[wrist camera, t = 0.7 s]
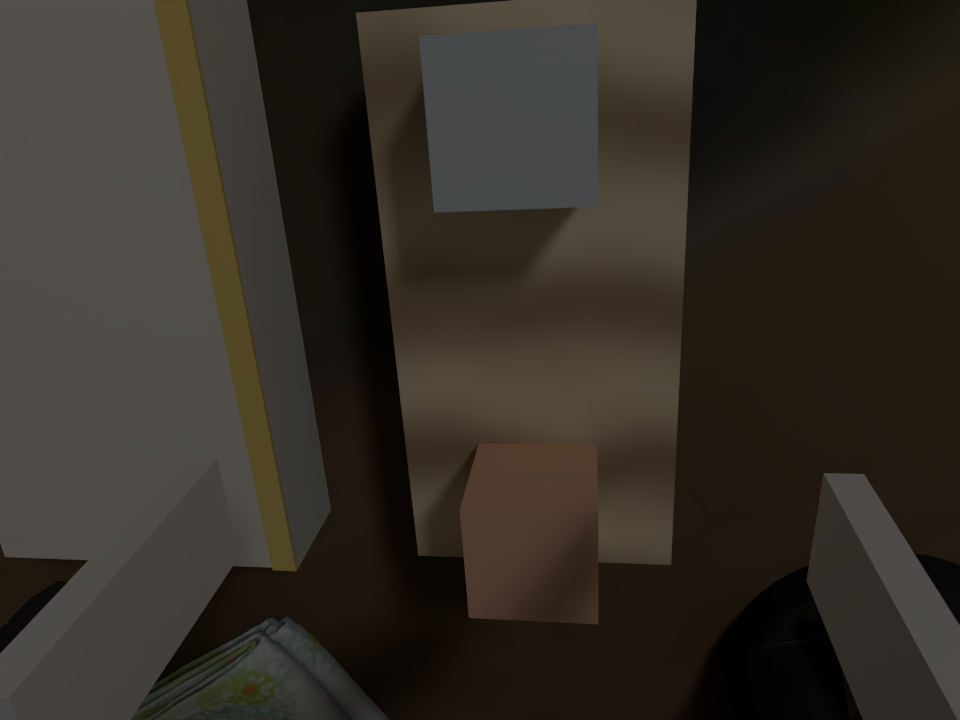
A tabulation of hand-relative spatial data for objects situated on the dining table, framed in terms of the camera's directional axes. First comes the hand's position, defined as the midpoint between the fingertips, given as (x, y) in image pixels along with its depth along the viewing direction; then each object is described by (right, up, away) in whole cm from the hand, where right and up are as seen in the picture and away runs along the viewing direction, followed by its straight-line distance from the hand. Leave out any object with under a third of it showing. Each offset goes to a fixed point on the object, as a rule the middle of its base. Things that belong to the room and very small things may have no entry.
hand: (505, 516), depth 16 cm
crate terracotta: (+2, -2, +15) cm, 15 cm away
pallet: (+2, +7, +18) cm, 19 cm away
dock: (-17, +7, +20) cm, 28 cm away
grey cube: (+1, +12, +9) cm, 15 cm away
